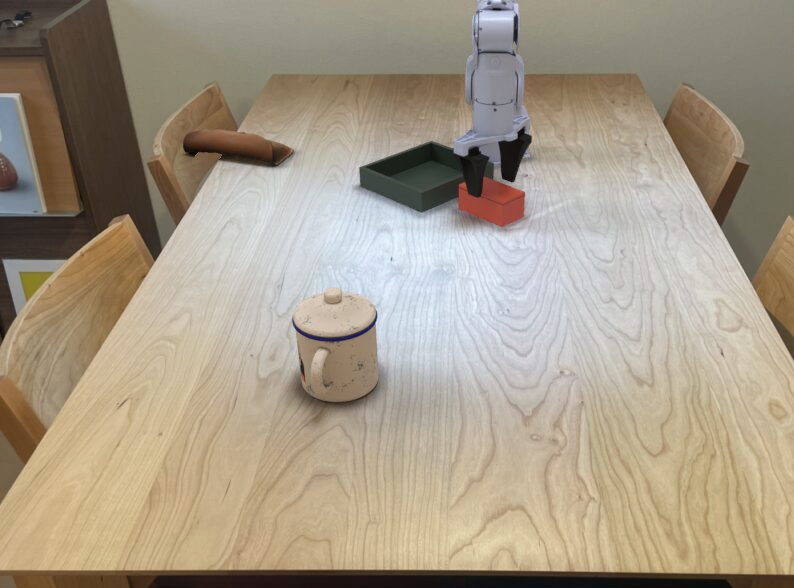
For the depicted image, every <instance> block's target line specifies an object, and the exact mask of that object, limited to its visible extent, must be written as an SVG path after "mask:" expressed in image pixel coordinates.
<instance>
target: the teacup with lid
mask: <svg viewBox="0 0 794 588" xmlns="http://www.w3.org/2000/svg"><path fill="white" fill-rule="evenodd" d="M377 321H378V311H377V309H376V307H375V305H374V304H373V302H372V301H371V300H370V299H368V298H367V297H366V296H364V295H362V294H359V293H355V292H351V291H343V290H342V289H340V288H338V287H329V288H327V289H325V290H324V292H320V293H317V294H314V295H312V296H309V297H307V298H306V299H304V300H302V301H301V302H300V303H298V304H297V307H296V308H295V309H294V312H293V315H292V319H291V324H292V327H293V328H294V329H295V336H296V338H295V339H296V346H297V353H298V354H297V355H298V361H299V362H298V363H299V370H300V378H301V379H300V380H301V385H302V387H303V389H304V390H305V392H306V393H307V394H308V395H310V396H311V397H313V398H314V399H317V400H319V401H323V402H329V403H344V402H350V401H351V402H352V401H354V400H357V399H360V398H362V397H364V396H366V395H367V394H369V393H371V391H373V390H374V388H375V387H376V385H377V384H378V381H379V375H380V374H379V356H378V339H377V324H376V323H377Z"/></svg>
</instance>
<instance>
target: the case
mask: <svg viewBox="0 0 794 588" xmlns="http://www.w3.org/2000/svg"><path fill="white" fill-rule="evenodd" d="M458 188H459V197H458V210H460V211H463V212H465V213H466V214H467V213H468V214H470V215H471V216H475V217H477V218H479V219H482V220H485V221H486V222H489V223H491V224H494V225H497V226H499V227H502V228H503V227H506V226H507V225H510V224H512V223H513V222H516V221H518V220H520V219H522V218H524V217H525V203H526V201H525V199H526V191H525V190H522V189H520V188H516V187H514V186H511V185H508V184H506V183H502V182H500V181H497V180H494V179H493V180H492V179H489V178H487V177H484V178H483V189H482V194H481V197H479V198H476V197H474V196H471V195H469V194H468V191H467V187H466V183H465V182H464V183H461V184H459V187H458Z"/></svg>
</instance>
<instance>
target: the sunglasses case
mask: <svg viewBox="0 0 794 588" xmlns="http://www.w3.org/2000/svg"><path fill="white" fill-rule="evenodd" d="M182 148H183V151H184V152H185V153H187V154H188V153H202V154H205V153H208V154H219V155H225V156H230V157H231V156H232V157H239V158H245V159H251V160H258V161H260V160H261V161H266V162H269V163H271V162H272V163H274V164H275V165H276V166H279V165H280V164H281V163H283V162H285V161H286V160H287V159H288V158H289V157H290V156H291V155H292V154H293V153H294V149H293V148H292V147H290V146H288V145H286V144H284V143H281V142H277V141H274V140H270V139H266V138H265V137H263V136H261V135H260V134H257V133H246V132H245V131H236V130H235V131H234V130H227V129H219V128H218V129H217V128H215V129H213V128H212V129H211V128H209V129H198V130H193V131H190V132H188V133H186V134H185V136H184V138H183V141H182Z"/></svg>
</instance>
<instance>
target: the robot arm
mask: <svg viewBox="0 0 794 588" xmlns="http://www.w3.org/2000/svg"><path fill="white" fill-rule="evenodd" d="M520 13H521V12H520V4H519V2H518V0H475V13H473V14H472V19H471V49H472V53H471V54H470V55H469V56H468V57H467V60H466V63H465V68H466V69H465V74H464V102H465V103H466V105H467V106H469V107H471V111H472V121H471V123H472V125H471V126H472V127H471V128H469V129H468V130H467V131H466V132H465V133H463V134H462V135H461V136H460V137H458V138H455V139H454V140H453V147H452V148H453V156H454V158H455V159H456V161H457V163H458V164H459V166H460V168H461V171H462V173H463V176H464V180H465V183H466V187H467V191H468V194H469V195H471V196H474V197H476V198H479V197H481V194H482V189H483V178H484V172H485V168H486V165H487V163H488V161H489V162H492V163H494V166H497V165H500V175H501V180H503V181H506V182H508V183H511V184H512V183H515V181H516V178H517V176H518V171H519V169H520V165H521V163H522V160H523V159H530V158H531V154H529V147H530V145H531V144H532V142H533V141H532V140H533V136H532V135H531V134H530V130H531V117H529V113H528V111H527V109H526V107H525V106H524V105H523V104H524V93H525V61H524V60H523V57H522V56H521V55H520V54H519V51H520V46H521V45H520V44H521V25H522V24H521V22H522V21H521V14H520ZM514 43H515V46H516V51H515V50H514Z"/></svg>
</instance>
